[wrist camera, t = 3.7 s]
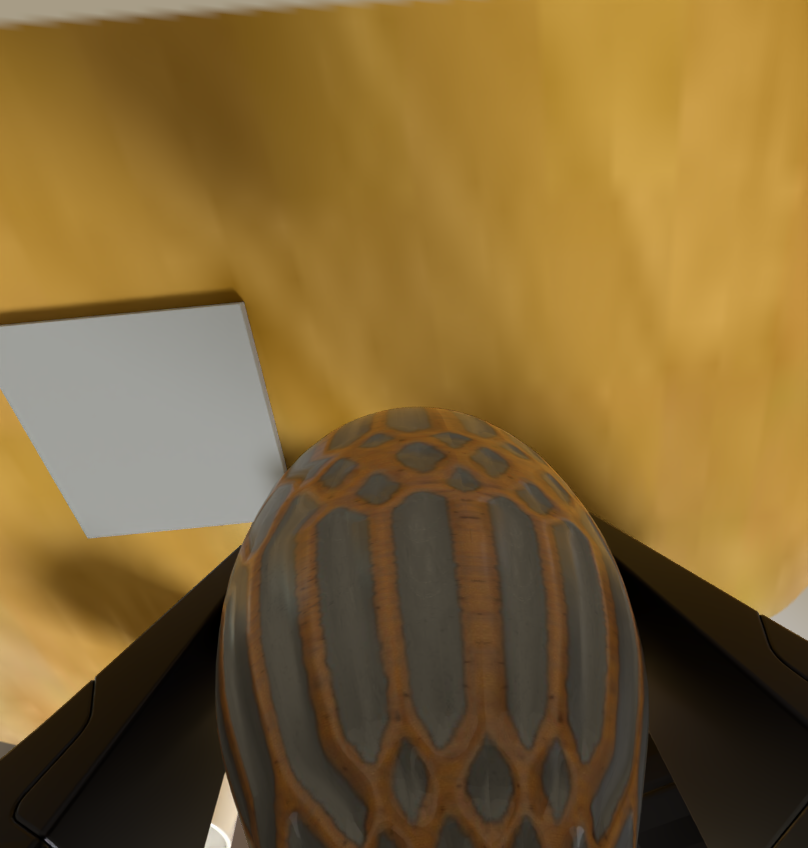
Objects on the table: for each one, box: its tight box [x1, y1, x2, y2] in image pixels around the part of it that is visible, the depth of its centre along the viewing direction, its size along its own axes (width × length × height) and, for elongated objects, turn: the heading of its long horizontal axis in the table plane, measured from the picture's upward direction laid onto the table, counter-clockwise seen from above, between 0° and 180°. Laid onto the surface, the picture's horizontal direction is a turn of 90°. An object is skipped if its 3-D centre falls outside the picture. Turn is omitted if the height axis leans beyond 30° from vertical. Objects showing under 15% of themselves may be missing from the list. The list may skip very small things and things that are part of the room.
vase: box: [215, 407, 649, 848], centre depth 7 cm, size 7×7×9 cm
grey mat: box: [0, 302, 287, 538], centre depth 20 cm, size 12×12×1 cm
